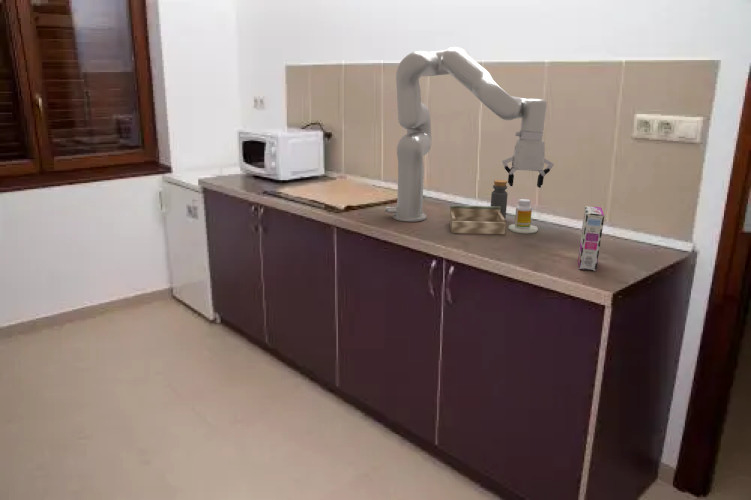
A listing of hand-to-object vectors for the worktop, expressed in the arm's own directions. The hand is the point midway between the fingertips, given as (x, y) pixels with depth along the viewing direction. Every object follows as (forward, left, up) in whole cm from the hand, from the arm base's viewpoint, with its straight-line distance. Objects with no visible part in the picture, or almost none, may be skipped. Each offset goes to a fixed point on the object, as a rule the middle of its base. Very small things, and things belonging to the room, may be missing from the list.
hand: (524, 186), depth 202 cm
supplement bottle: (0, 0, -15) cm, 15 cm away
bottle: (-6, +13, -16) cm, 22 cm away
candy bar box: (+12, -39, -16) cm, 43 cm away
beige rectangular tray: (-16, 0, -16) cm, 22 cm away
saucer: (+1, 0, -16) cm, 16 cm away
